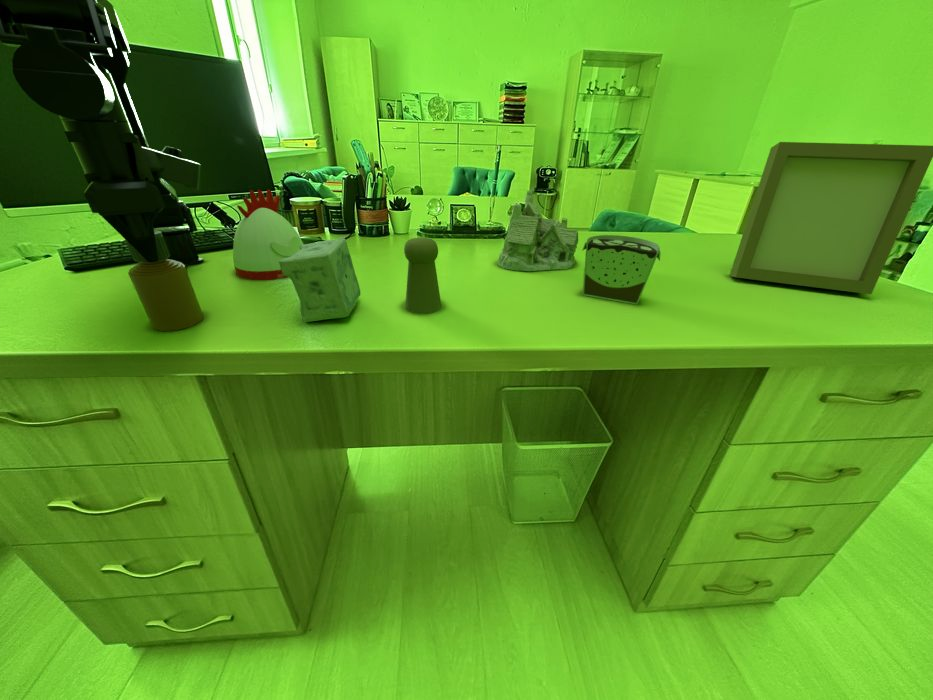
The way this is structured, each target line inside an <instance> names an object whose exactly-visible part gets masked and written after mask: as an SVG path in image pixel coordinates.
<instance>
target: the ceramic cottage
mask: <svg viewBox="0 0 933 700" xmlns="http://www.w3.org/2000/svg"><path fill="white" fill-rule="evenodd" d="M525 195H526V196H525V197H524V209H523V210H522V204H521V203H514V204H513V205H512V210H511V214H510V217H509V225H508V230H507V234H506V236H505V238H504V242H503V247H502V249H501V252H500V253H499V255H498V259H497V264H498V265H497V266H499V267H500V268H502V269H506V270H511V271H516V272H517V271H519V272H521V271H522V272H523V271H524V272H536V271H537V272H540V271H551V270H553V271H554V270H567V269H571V268H572V267H574V265H575V264H576V257H575V253H576V251H577V250H576V249H577V248H578V243H579V230H578V229H569V228H568V217H562V218H561V221H560V220H559V219H556V218H555V219H554V218H545V217H543V214H542V212H541V210H540V209H539V208H538V203H537V202H536V201H535V200H534V195H533V190H526V193H525Z"/></svg>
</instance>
